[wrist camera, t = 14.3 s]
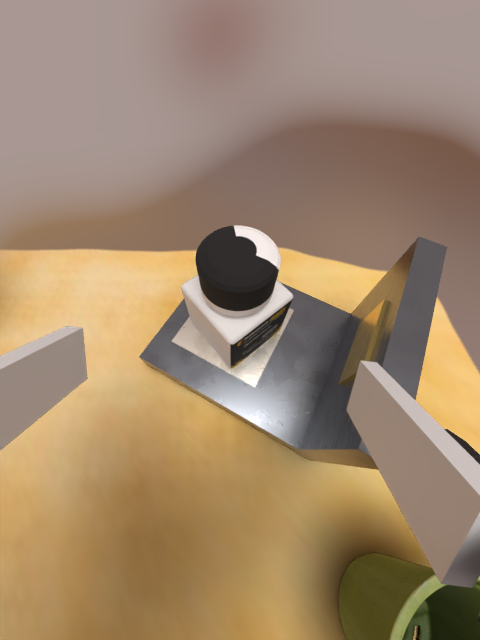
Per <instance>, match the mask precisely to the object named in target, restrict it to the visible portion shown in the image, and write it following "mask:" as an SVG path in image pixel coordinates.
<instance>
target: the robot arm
mask: <svg viewBox="0 0 480 640" xmlns="http://www.w3.org/2000/svg"><path fill="white" fill-rule="evenodd" d="M86 379H87V368H86V357H85V346H84V336H83V328H81V327H72V326H66V327H63V328H61V329H59V330H57V331H55V332H52V333H50V334H48V335H46V336H44V337H41V338H39V339H37V340H35V341H33V342H30V343H28V344H26V345H24V346H21V347H19V348H17V349H15V350H13V351H10V352H8V353H6V354H4V355H2V356H0V450H2V449H3V448H4V447H5V446H6V445H8V444H9V443H10V442H11V441H12V440H14V439H15V438H16V437H17V436H18V435H20V434H21V433H22V432H23V431H25V430H26V429H27V428H28V427H29V426H31V425H32V424H33V423H34V422H35V421H37V420H38V419H39V418H40V417H42V416H43V415H44V414H45V413H46V412H48V411H49V410H50V409H51V408H52V407H54V406H55V405H56V404H57V403H59V402H60V401H61V400H62V399H63V398H65V397H66V396H67V395H68V394H69V393H71V392H72V391H73V390H74V389H76V388H77V387H78V386H79V385H80V384H82V383H83V382H84V381H85V380H86ZM347 412H348V414H349V416H350V418H351V420H352V421H353V423H354V425H355V427H356V429H357V431H358V433H359V434H360V436H361V438H362V440H363V442H364V444H365V445H366V447H367V449H368V451H369V453H370V455H371V456H372V458H373V460H374V462H375V464H376V466H377V467H378V469H379V471H380V473H381V475H382V477H383V479H384V480H385V482H386V484H387V486H388V488H389V490H390V491H391V493H392V495H393V497H394V499H395V501H396V502H397V504H398V506H399V508H400V510H401V512H402V514H403V515H404V517H405V519H406V521H407V523H408V525H409V526H410V528H411V530H412V532H413V534H414V536H415V537H416V539H417V541H418V543H419V545H420V547H421V548H422V550H423V552H424V554H425V556H426V558H427V560H428V561H429V563H430V565H431V567H432V569H433V571H434V572H435V574H436V576H437V578H438V580H439V582H440V583H441V584H447V585H454V586H461V587H469V588H473V586H474V584H475V583H476V581H477V579H478V578H479V576H480V455H479V454H478V453H477V452H476V451H475V450H474V449H473V448H472V447H471V446H470V445H469V444H468V443H467V442H466V441H464V440H463V439H461V438H460V437H458V436H457V435H455V434H454V433H452V432H451V431H449V430H448V429H443V428H442V427H441V426H440V425H439V424H438V423H437V422H436V421H435V420H434V419H433V418H432V417H431V416H430V415H429V414H428V413H427V412H426V411H425V410H424V409H423V408H422V407H421V406H420V405H419V404H418V403H417V402H416V401H415V400H414V399H413V398H412V397H411V396H410V395H409V394H408V393H407V392H406V391H405V390H404V389H403V388H402V387H401V386H400V385H399V384H398V383H397V382H396V381H395V380H394V379H393V378H392V377H391V376H390V375H389V374H388V373H387V372H386V371H385V370H384V369H383V368H382V367H381V366H380V365H379V364H378V363H377V362H369V361H361V360H360V363H359V367H358V370H357V374H356V377H355V381H354V385H353V388H352V392H351V396H350V399H349V403H348V406H347ZM477 621H478V622H480V613H479V615H478V618H477Z"/></svg>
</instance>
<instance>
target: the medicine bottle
mask: <svg viewBox="0 0 480 640" xmlns="http://www.w3.org/2000/svg"><path fill="white" fill-rule="evenodd" d="M280 263H281V257H280V252H279V250H278V248H277V246H276V245H275V243H274V242H273V241H272V240H271V239H270V238H269V237H268V236H267V235H266V234H264V233H262V232H260V231H259V230H257V229H254V228H251V227H247V226H228V227H224V228H221V229H218V230H216V231H214V232H213V233H211V234H210V235H208V236H207V237H206V238H205V239H204V240H203V241H202V242H201V244H200V245H199V247H198V249H197V253H196V266H197V271H198V275H197V276H195V277H193V278H192V279H190V280H189V281H187V282H185V283H184V284H182V286H181V290H182V293H183V296H184V299H185V303H186V306H187V309H188V312H189V315H190V319H191V322H192V324H193V325H194V326H195V327H196V328H197V329H198V331H199V332H200V333H201V334H202V335H203V337H204V338H205V339H206V340H207V341H208V343H209V344H210V345H211V346H212V347H213V348H214V350H215V351H216V352H217V353H218V354H219V356H220V357H221V358H222V359H223V360H224V362H225V363H226V364H227V365H228V366H229V367H230V368H234V367H235V366H237V365H238V364H239V363H240V362H241V361H243V360H244V359H245V358H246V357H248V356H249V355H250V354H251V353H253V352H254V351H255V350H256V349H258V348H259V347H260V346H261V345H263V344H264V343H265V342H266V341H267V340H269V339H270V338H271V337H272V336H274V335H275V334H276V333H277V332H279V331H280V329H281V327H282V324H283V322H284V319H285V317H286V314H287V312H288V310H289V307H290V305H291V302H292V300H293V294H292V293H291V292H290V291H289V290H288V289H287V288H285V287H284V286H283V285H282V284H281V283H280V282H279V281H278V280H277V276H278V272H279V268H280Z"/></svg>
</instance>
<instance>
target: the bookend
mask: <svg viewBox="0 0 480 640" xmlns="http://www.w3.org/2000/svg"><path fill="white" fill-rule="evenodd" d="M446 249H447V247H446V246H443V245H440V244H438V243H435V242H432V241H429V240H427V239H424V238H421V237H418V238H417V239H416V241H415V242H414V243H413V244H412V245H411V246H410V247H409V249H408V250H407V251H406V252H405V253H404V254H403V255H402V257H401V258H400V259H399V260H398V261H397V262H396V263H395V264H394V266H393V267H392V268H391V269H390V270H389V271H388V272H387V274H386V275H385V276H384V277H383V278H382V279H381V280H380V281H379V283H378V284H377V285H376V286H375V287H374V288H373V289H372V291H371V292H370V293H369V294H368V295H367V296H366V297H365V298H364V300H363V301H362V302H361V303H360V304H359V305H358V306H357V308H356V309H355V310H354V311H353V312H352V313H351V314H350V313H347V312H345V311H343V310H341V309H338V308H336V307H334V306H332V305H329V304H327V303H325V302H323V301H321V300H318V299H316V298H314V297H312V296H309V295H307V294H305V293H303V292H300V291H298V290H296V289H294V288H291V287H289V286H287V285H285V284H283V283H281V284H282V285H283V286H284V287H285V288H287V289H288V290H289V291H290V292H291V293H292V294H293V300H292V302H291V305H290V307H289V310H288V312H287V314H286V317H285V319H284V322H283V324H282V327H281V329H280V331H279V332H277V333H276V334H275V335H274V336H272V337H271V338H270V339H269V340H267V341H266V342H265V343H264V344H263V345H261V346H260V347H259V348H258V349H256V350H255V351H254V352H253V353H251V354H250V355H249V356H248V357H246V358H245V359H244V360H243V361H241V362H240V363H239V364H238V365H237V366H235V367H234V368H230V367H229V366H228V365H227V364H226V363H225V362H224V360H223V359H222V358H221V357H220V356H219V354H218V353H217V352H216V351H215V350H214V348H213V347H212V346H211V345H210V344H209V343H208V341H207V340H206V339H205V338H204V337H203V335H202V334H201V333H200V332H199V331H198V329H197V328H196V327H195V326H194V325H193V324H192V322H191V319H190V315H189V312H188V309H187V306H186V303H185V299H183V301H182V302H181V303H180V305H179V306H178V307H177V308H176V310H175V311H174V312H173V314H172V315H171V316H170V318H169V319H168V320H167V321H166V323H165V324H164V325H163V327H162V328H161V329H160V331H159V332H158V333H157V334H156V336H155V337H154V338H153V340H152V341H151V342H150V344H149V345H148V346H147V347H146V349H145V350H144V351H143V353H142V354H141V355H140V358H141V359H142V360H143V361H144V362H145V363H146V364H147V365H148V366H149V367H151V368H153V369H155V370H156V371H158V372H160V373H161V374H163V375H165V376H167V377H168V378H170V379H172V380H173V381H175V382H177V383H179V384H180V385H182V386H184V387H185V388H187V389H189V390H190V391H192V392H194V393H196V394H197V395H199V396H201V397H202V398H204V399H206V400H208V401H209V402H211V403H213V404H214V405H216V406H218V407H220V408H221V409H223V410H225V411H226V412H228V413H230V414H232V415H233V416H235V417H237V418H238V419H240V420H242V421H244V422H245V423H247V424H249V425H250V426H252V427H254V428H256V429H257V430H259V431H261V432H262V433H264V434H266V435H268V436H269V437H271V438H273V439H274V440H276V441H278V442H280V443H281V444H283V445H285V446H286V447H288V448H290V449H292V450H293V451H295V452H297V453H298V454H300V455H302V456H304V457H305V458H307V459H309V460H311V461H318V462H326V463H333V464H340V465H348V466H355V467H363V468H370V469H377V470H379V469H378V467H377V466H376V464H375V462H374V460H373V458H372V456H371V455H370V453H369V451H368V449H367V447H366V445H365V444H364V442H363V440H362V438H361V436H360V434H359V433H358V431H357V429H356V427H355V425H354V423H353V421H352V420H351V418H350V416H349V414H348V412H347V406H348V403H349V399H350V396H351V392H352V388H353V385H354V381H355V377H356V374H357V370H358V367H359V363H360V360H361V361H369V362H377V363H378V364H379V365H380V366H381V367H382V368H383V369H384V370H385V371H386V372H387V373H388V374H389V375H390V376H391V377H392V378H393V379H394V380H395V381H396V382H397V383H398V384H399V385H400V386H401V387H402V388H403V389H404V390H405V391H406V392H407V393H408V394H409V395H410V396H411V397H412V398H413V399H414V400H416V395H417V390H418V385H419V380H420V375H421V370H422V365H423V361H424V356H425V351H426V346H427V341H428V336H429V331H430V327H431V322H432V317H433V312H434V307H435V302H436V297H437V292H438V287H439V282H440V278H441V273H442V268H443V263H444V258H445V254H446Z"/></svg>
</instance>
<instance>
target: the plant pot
mask: <svg viewBox="0 0 480 640" xmlns="http://www.w3.org/2000/svg"><path fill="white" fill-rule="evenodd" d="M338 607H339V615H340V620H341V625H342V629H343V632H344V635H345V638H346V640H413V636H414V631H415V626H419V625H420V633H419V635H420V637H419V640H480V622H478V621H477V618H478V615H479V613H480V576H479V578H478V579H477V581H476V583H475V584H474V586H473V588H469V587H461V586H454V585H447V584H441V583H440V582H439V580H438V578H437V576H436V574H435V572H434V571H433V569H432V568H429V567H425V566H422V565H418V564H415V563H411V562H407V561H404V560H401V559H397V558H394V557H391V556H387V555H384V554H379V553H369V554H365V555H363V556H361V557H358V558H356V559H355V560H353V561H352V562H351V563H350V564H349V566H348V567H347V569H346V571H345V572H344V574H343V577H342V580H341V583H340V589H339V599H338Z"/></svg>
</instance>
